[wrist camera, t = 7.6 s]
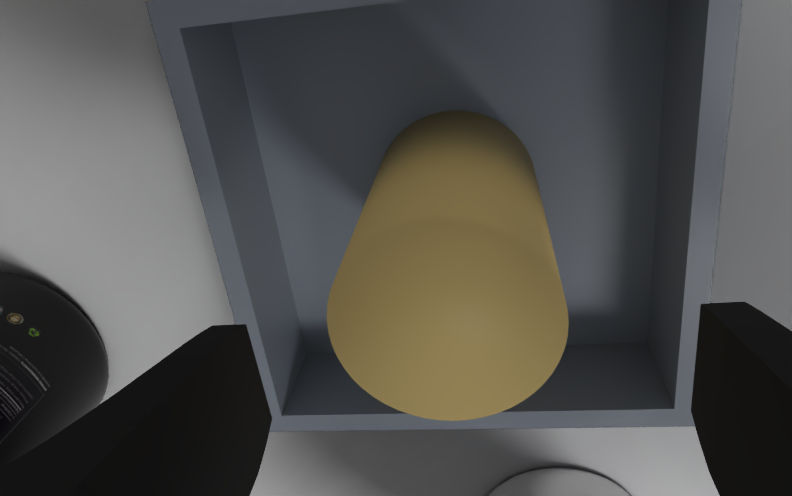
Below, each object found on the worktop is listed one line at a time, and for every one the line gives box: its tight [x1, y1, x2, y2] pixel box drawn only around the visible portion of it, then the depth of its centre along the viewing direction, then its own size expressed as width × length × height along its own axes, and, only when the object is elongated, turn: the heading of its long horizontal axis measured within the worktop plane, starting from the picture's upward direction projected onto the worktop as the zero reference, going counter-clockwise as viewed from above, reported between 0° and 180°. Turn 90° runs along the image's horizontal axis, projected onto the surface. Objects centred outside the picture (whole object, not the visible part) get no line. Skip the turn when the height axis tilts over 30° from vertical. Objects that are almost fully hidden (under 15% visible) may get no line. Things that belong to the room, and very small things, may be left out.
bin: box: [146, 0, 742, 432], centre depth 17 cm, size 12×12×4 cm
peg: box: [327, 110, 569, 421], centre depth 15 cm, size 4×4×7 cm
